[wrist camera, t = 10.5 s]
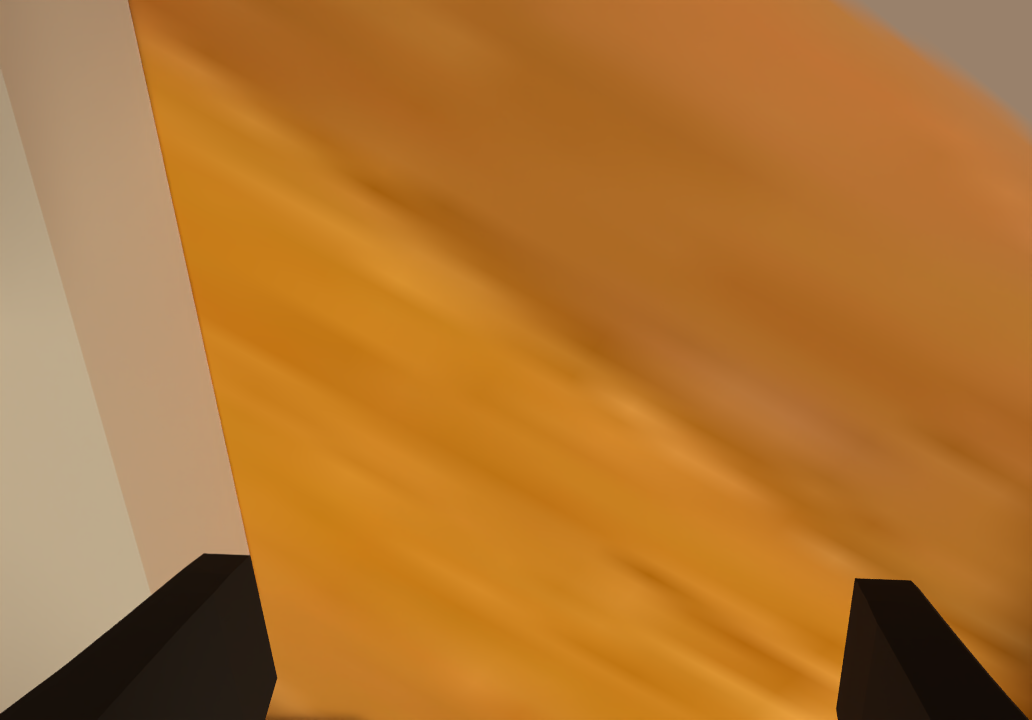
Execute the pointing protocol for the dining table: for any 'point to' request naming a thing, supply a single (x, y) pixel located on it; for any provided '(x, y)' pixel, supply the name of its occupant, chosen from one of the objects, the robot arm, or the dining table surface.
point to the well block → (93, 347)
